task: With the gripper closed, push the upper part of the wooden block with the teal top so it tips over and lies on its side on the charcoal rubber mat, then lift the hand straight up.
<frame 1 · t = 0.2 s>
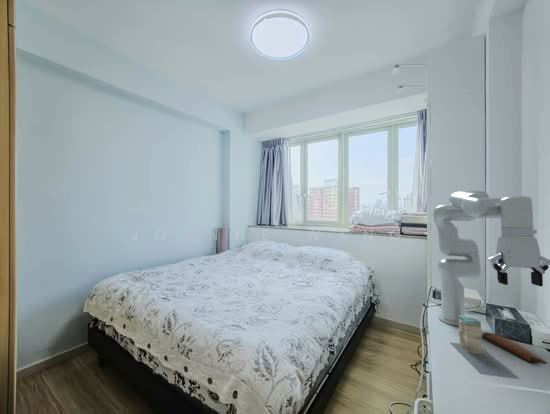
hand: (519, 284, 76), 31 cm above the table, tool pointing down, fingers open, 9 cm apart
sunglasses case: (513, 352, 92), on the table
charcoal mat: (480, 359, 86), on the table
wooden block: (470, 349, 91), point 1 cm above the table, touching charcoal mat
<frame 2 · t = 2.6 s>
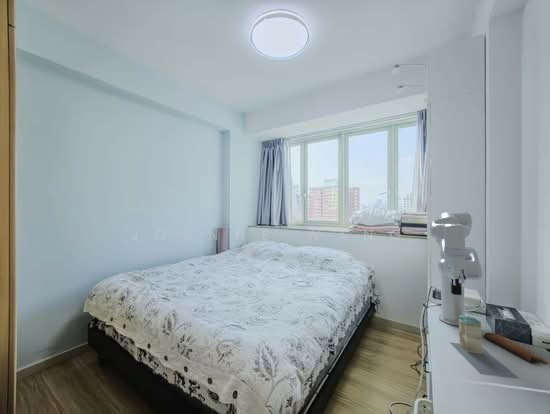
hand: (456, 294, 101), 19 cm above the table, tool pointing down, fingers closed
nothing on the table moved.
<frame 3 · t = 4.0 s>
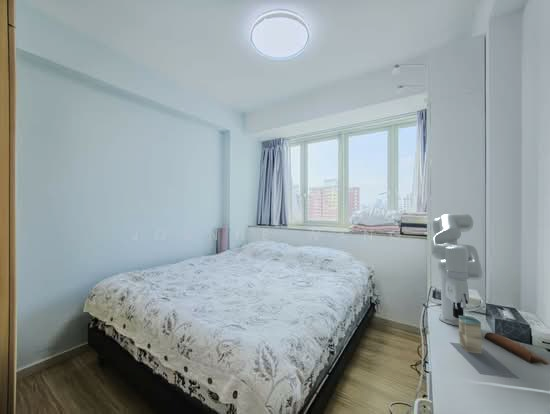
hand: (458, 317, 100), 10 cm above the table, tool pointing down, fingers closed
nothing on the table moved.
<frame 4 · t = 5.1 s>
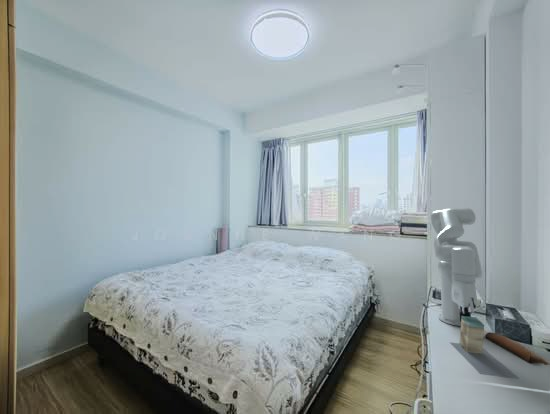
hand: (465, 322, 94), 10 cm above the table, tool pointing down, fingers closed
wooden block: (470, 348, 91), point 1 cm above the table, tilted 10°, touching charcoal mat, gripper
everything else where it was.
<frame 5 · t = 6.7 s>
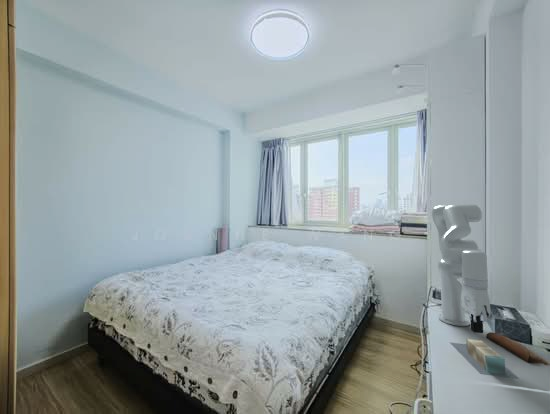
hand: (477, 331, 87), 10 cm above the table, tool pointing down, fingers closed
wooden block: (474, 346, 89), point 3 cm above the table, tilted 90°, touching charcoal mat
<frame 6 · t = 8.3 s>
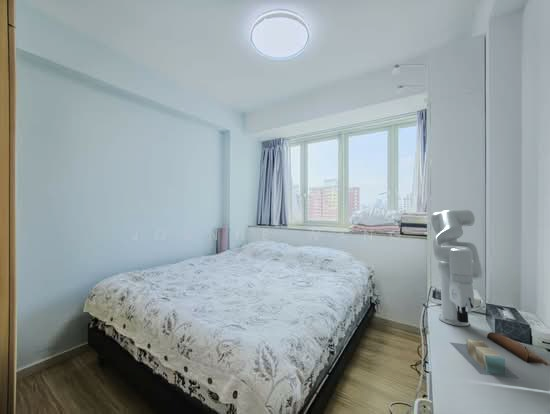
hand: (462, 321, 97), 9 cm above the table, tool pointing down, fingers closed
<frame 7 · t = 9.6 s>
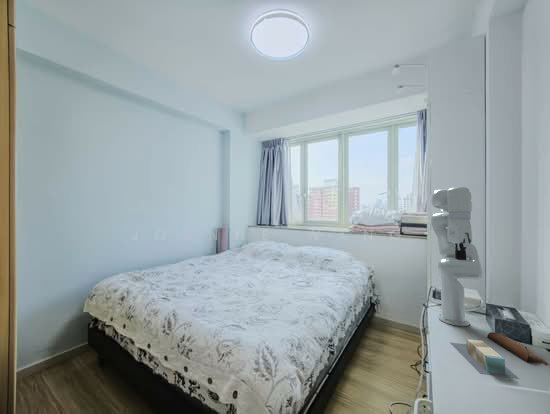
hand: (460, 259, 97), 35 cm above the table, tool pointing down, fingers closed
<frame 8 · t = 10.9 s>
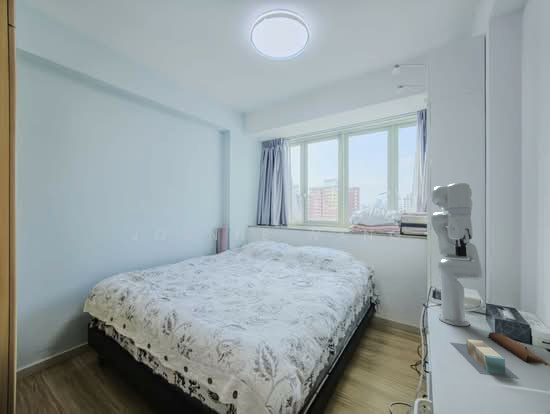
hand: (461, 255, 96), 37 cm above the table, tool pointing down, fingers closed
at the end: wooden block tilted 90°; wooden block inside the target area (2.5 cm from its centre), point 3.1 cm above the table; wooden block touching charcoal mat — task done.
